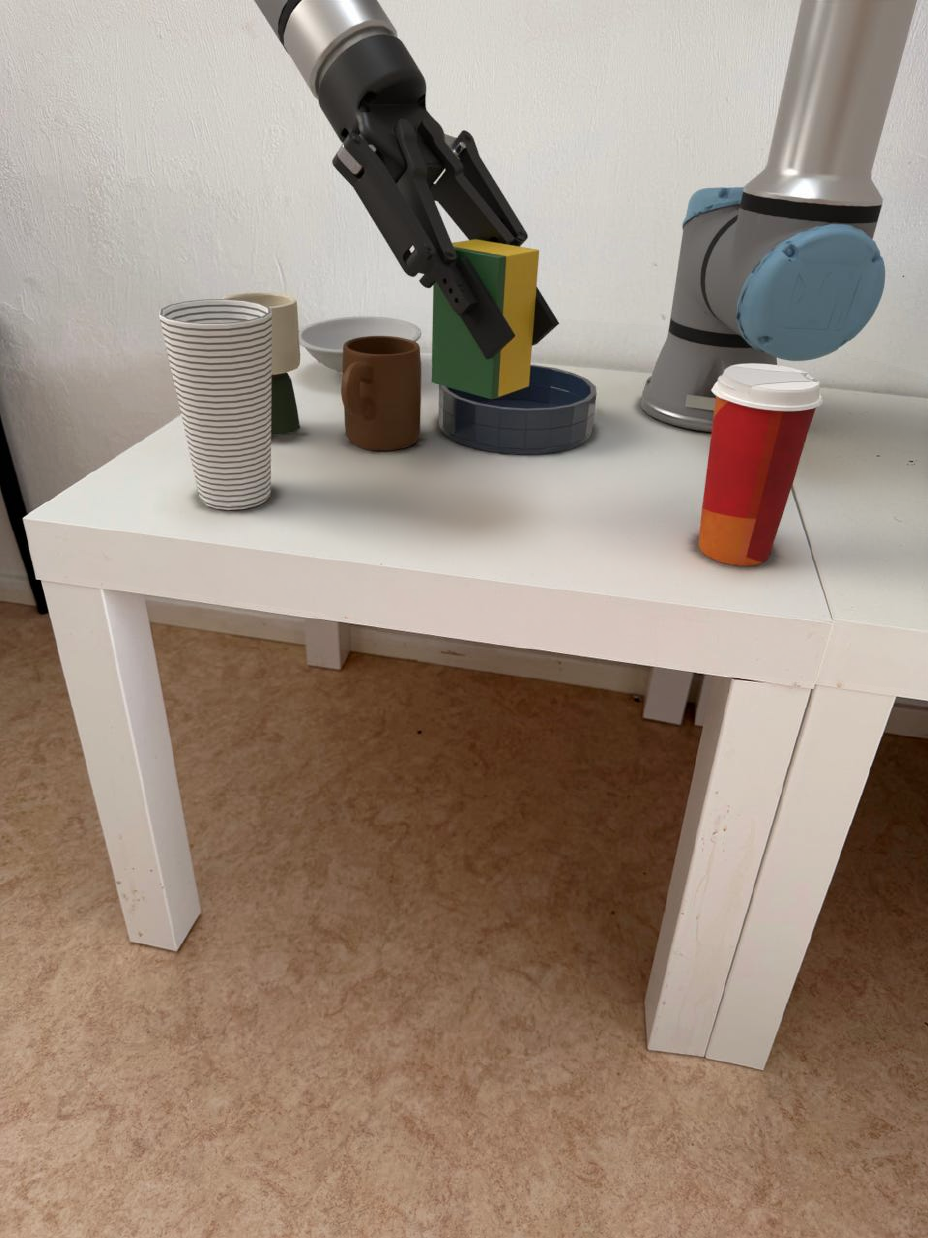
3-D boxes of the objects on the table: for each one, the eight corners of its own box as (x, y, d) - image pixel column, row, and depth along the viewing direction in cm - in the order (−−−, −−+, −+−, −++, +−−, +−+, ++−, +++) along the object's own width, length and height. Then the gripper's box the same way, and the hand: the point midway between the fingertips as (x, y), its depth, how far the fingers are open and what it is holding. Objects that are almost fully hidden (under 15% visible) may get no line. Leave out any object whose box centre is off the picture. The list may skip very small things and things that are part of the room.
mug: (386, 473, 82) (385, 371, 77) (312, 461, 84) (306, 361, 79) (431, 432, 92) (432, 339, 87) (363, 422, 94) (361, 331, 89)
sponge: (469, 370, 73) (475, 238, 67) (529, 386, 69) (539, 249, 64) (431, 382, 69) (433, 245, 64) (491, 399, 66) (499, 256, 61)
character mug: (259, 412, 95) (248, 285, 89) (321, 419, 94) (315, 291, 87) (211, 446, 86) (195, 308, 80) (280, 455, 85) (269, 315, 78)
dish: (389, 402, 100) (388, 357, 97) (273, 387, 103) (270, 343, 101) (439, 362, 114) (439, 322, 112) (336, 350, 118) (334, 311, 115)
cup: (271, 472, 81) (257, 295, 73) (297, 508, 75) (285, 319, 67) (176, 485, 78) (150, 301, 70) (195, 523, 72) (168, 327, 64)
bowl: (535, 395, 104) (538, 356, 102) (622, 439, 92) (628, 397, 90) (412, 414, 97) (412, 373, 94) (490, 464, 85) (492, 419, 83)
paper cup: (764, 529, 75) (803, 362, 67) (797, 573, 68) (844, 393, 61) (673, 528, 74) (702, 359, 67) (696, 571, 68) (731, 390, 60)
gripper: (412, 110, 74) (558, 348, 74) (241, 110, 62) (415, 394, 62) (464, 35, 68) (621, 292, 68) (287, 18, 56) (478, 331, 56)
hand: (523, 340), depth 65 cm, fingers closed on sponge, 5 cm apart
